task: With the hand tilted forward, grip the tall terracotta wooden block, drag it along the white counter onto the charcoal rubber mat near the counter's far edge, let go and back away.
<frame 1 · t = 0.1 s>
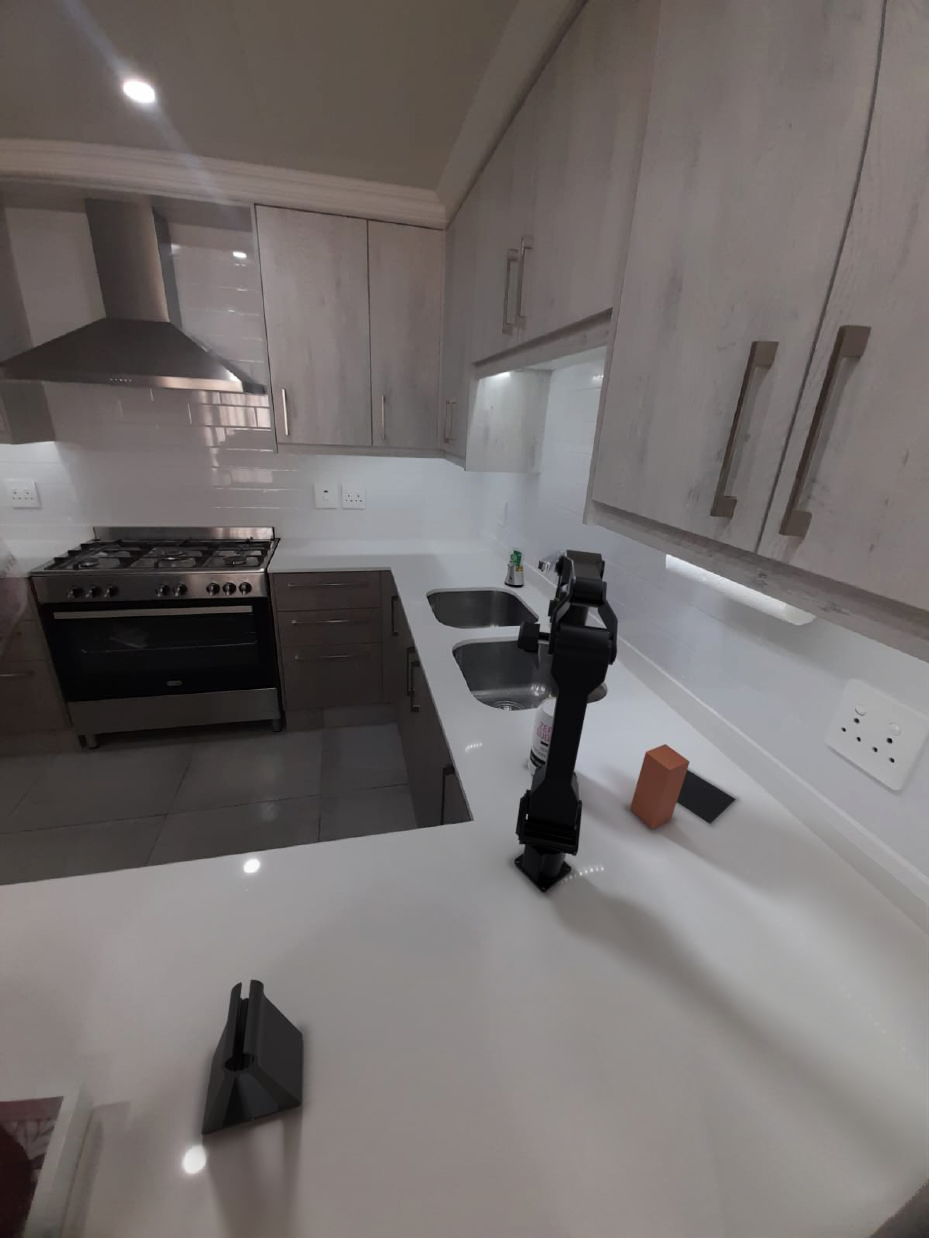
hand: (560, 672, 100), 15 cm above the worktop, tool pointing down, fingers open, 9 cm apart
supplement can: (548, 772, 95), on the worktop
terracotta block: (650, 814, 87), on the worktop
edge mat: (691, 791, 93), on the worktop
phone stand: (256, 1083, 50), on the worktop
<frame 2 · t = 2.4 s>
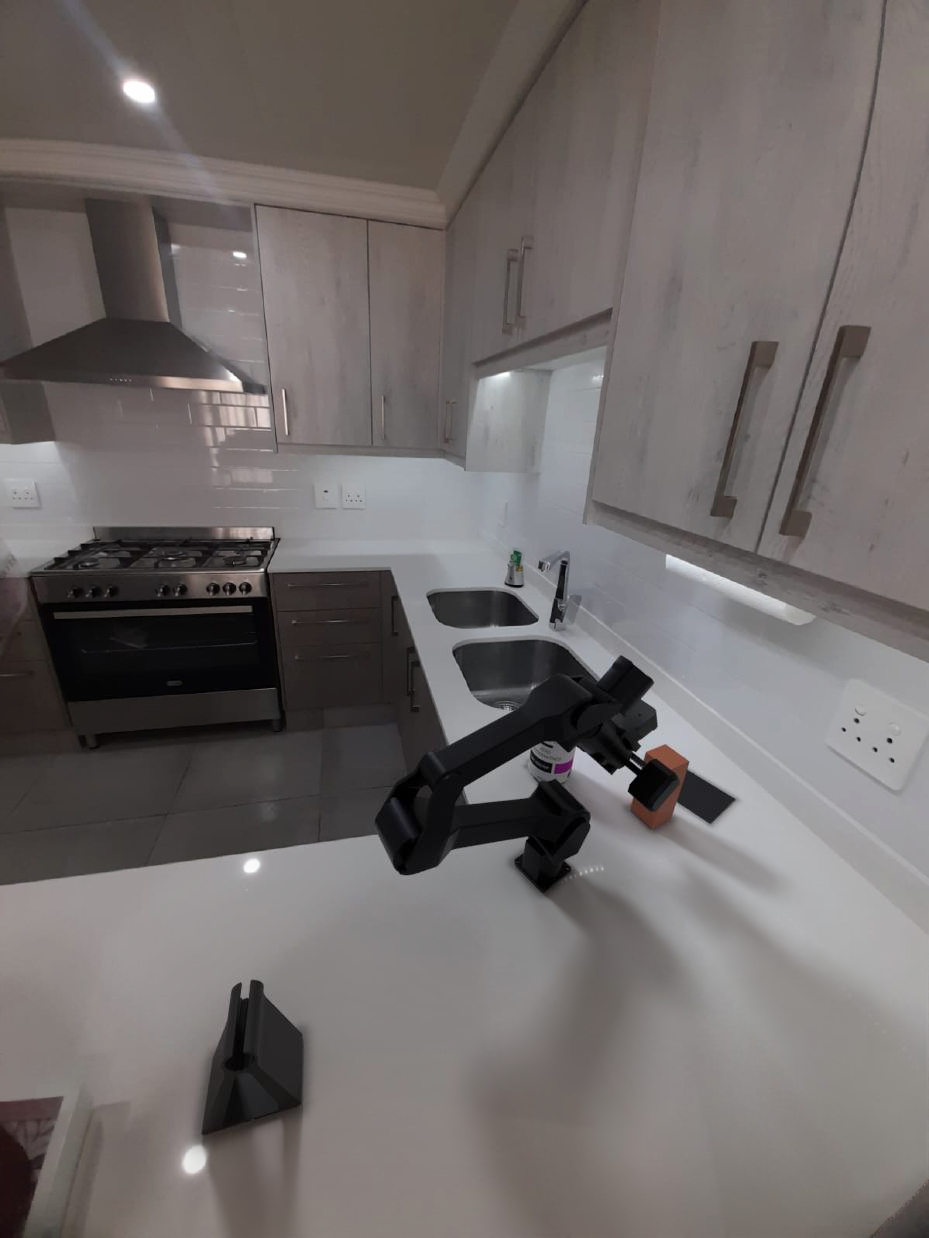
hand: (634, 773, 78), 12 cm above the worktop, tool tilted 45°, fingers open, 9 cm apart
nothing on the worktop moved.
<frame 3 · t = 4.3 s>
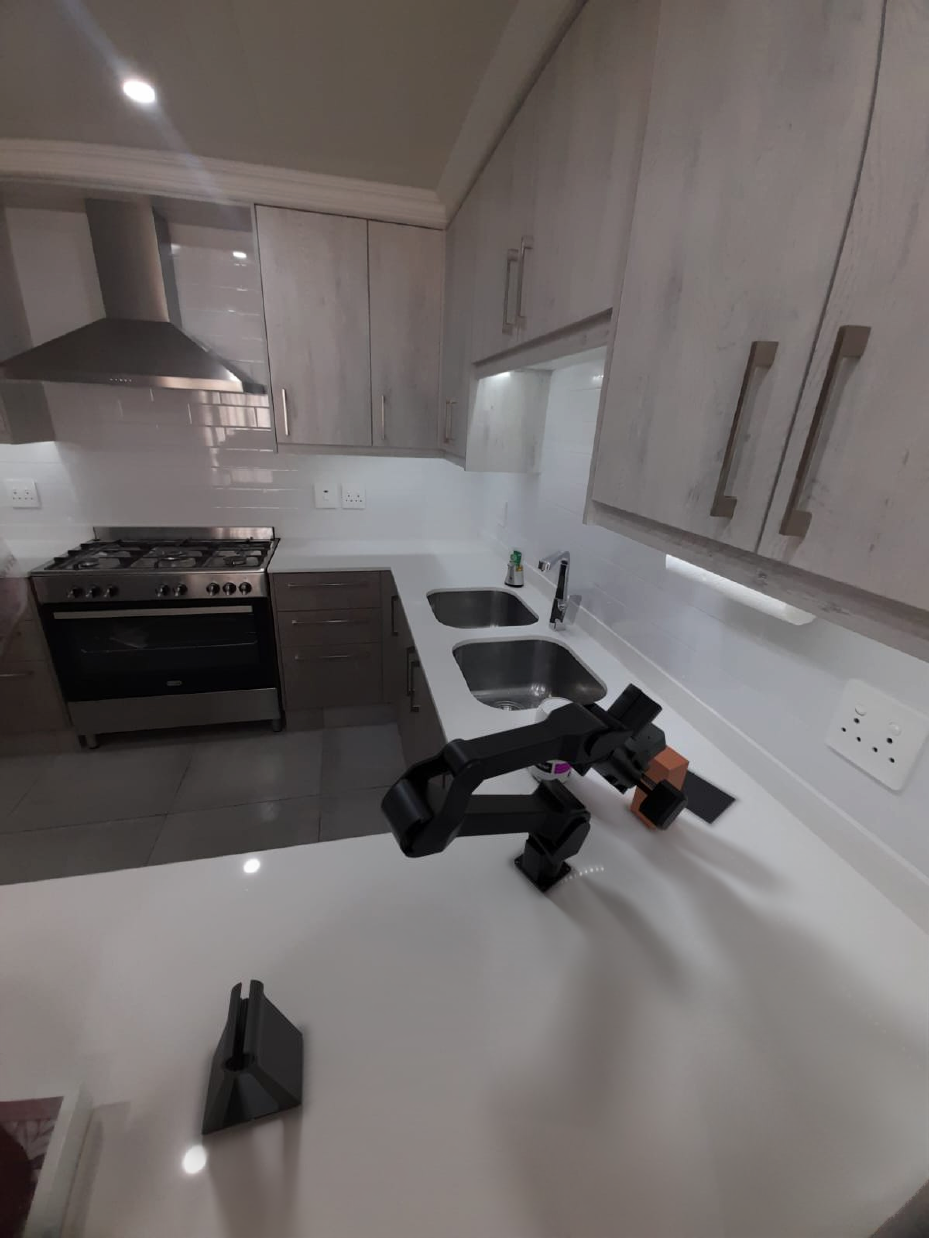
hand: (644, 789, 82), 7 cm above the worktop, tool tilted 45°, fingers open, 9 cm apart
nothing on the worktop moved.
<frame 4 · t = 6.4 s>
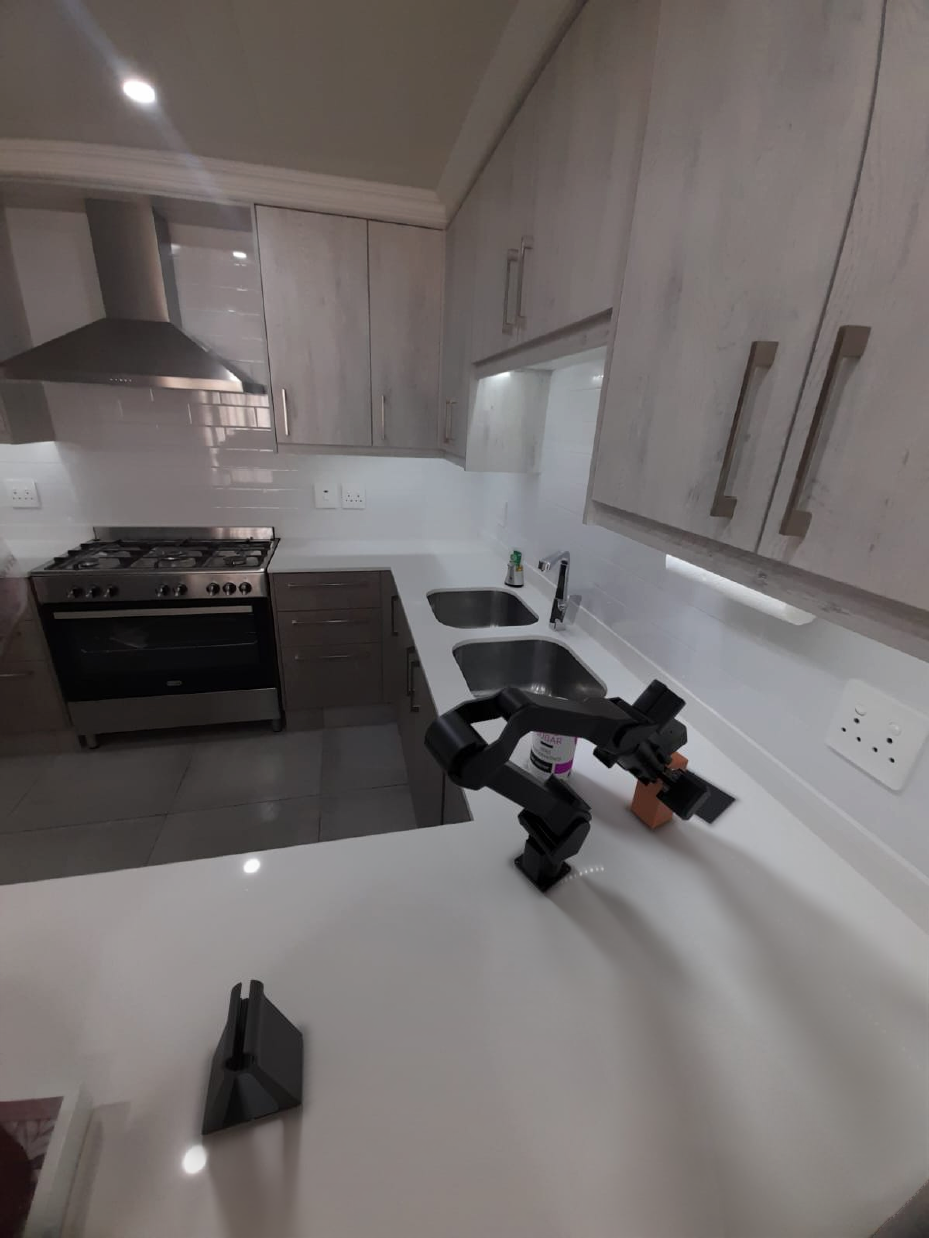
hand: (664, 782, 85), 7 cm above the worktop, tool tilted 45°, fingers closed on terracotta block, 5 cm apart
terracotta block: (650, 814, 87), on the worktop, touching gripper
everything else where it was.
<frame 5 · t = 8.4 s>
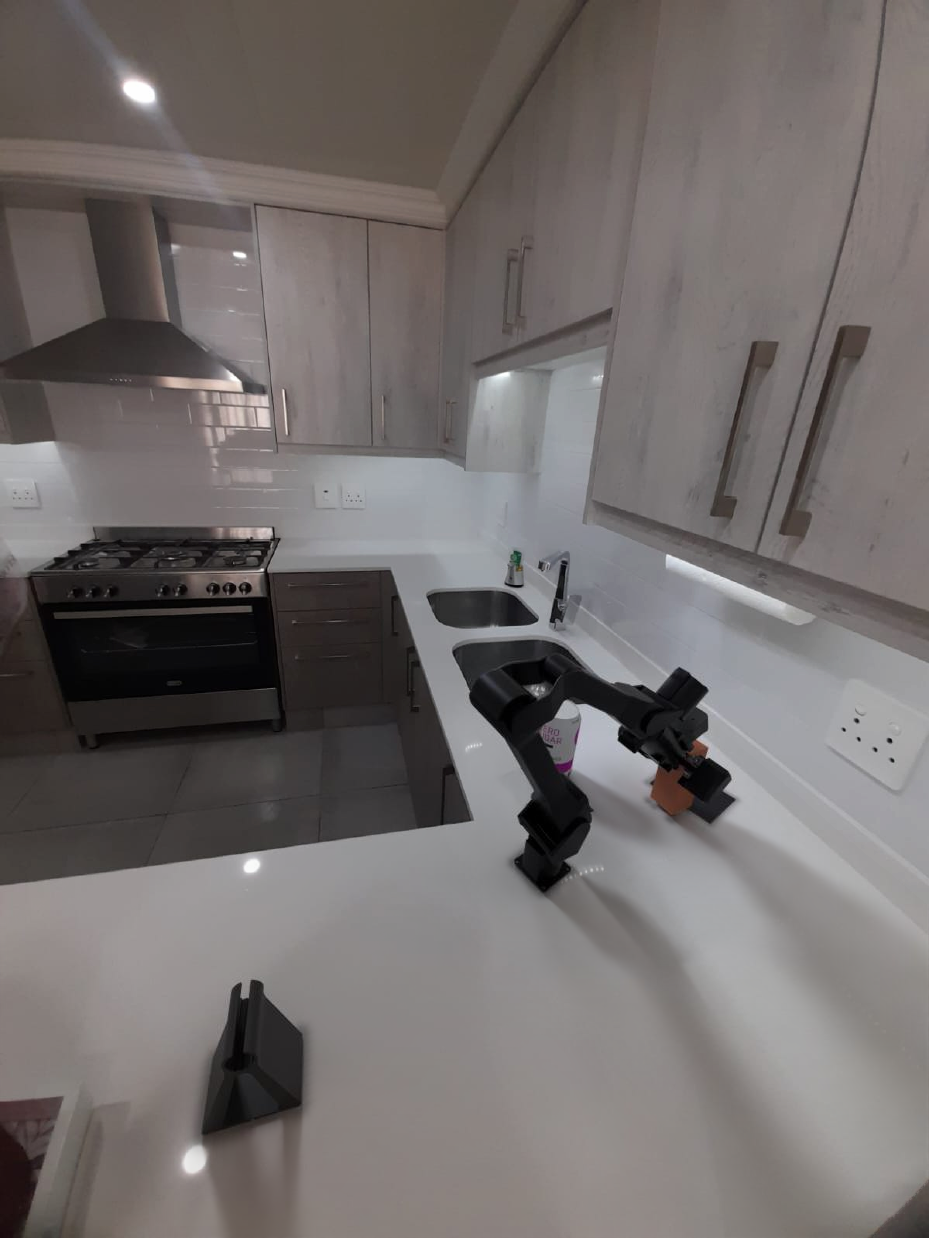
hand: (684, 770, 87), 8 cm above the worktop, tool tilted 45°, fingers closed on terracotta block, 5 cm apart
terracotta block: (670, 801, 89), point 1 cm above the worktop, touching gripper
everything else where it was.
when the fingers open (7 cm above the worktop, at t = 10.7 s): terracotta block stays where it is, resting on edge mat.
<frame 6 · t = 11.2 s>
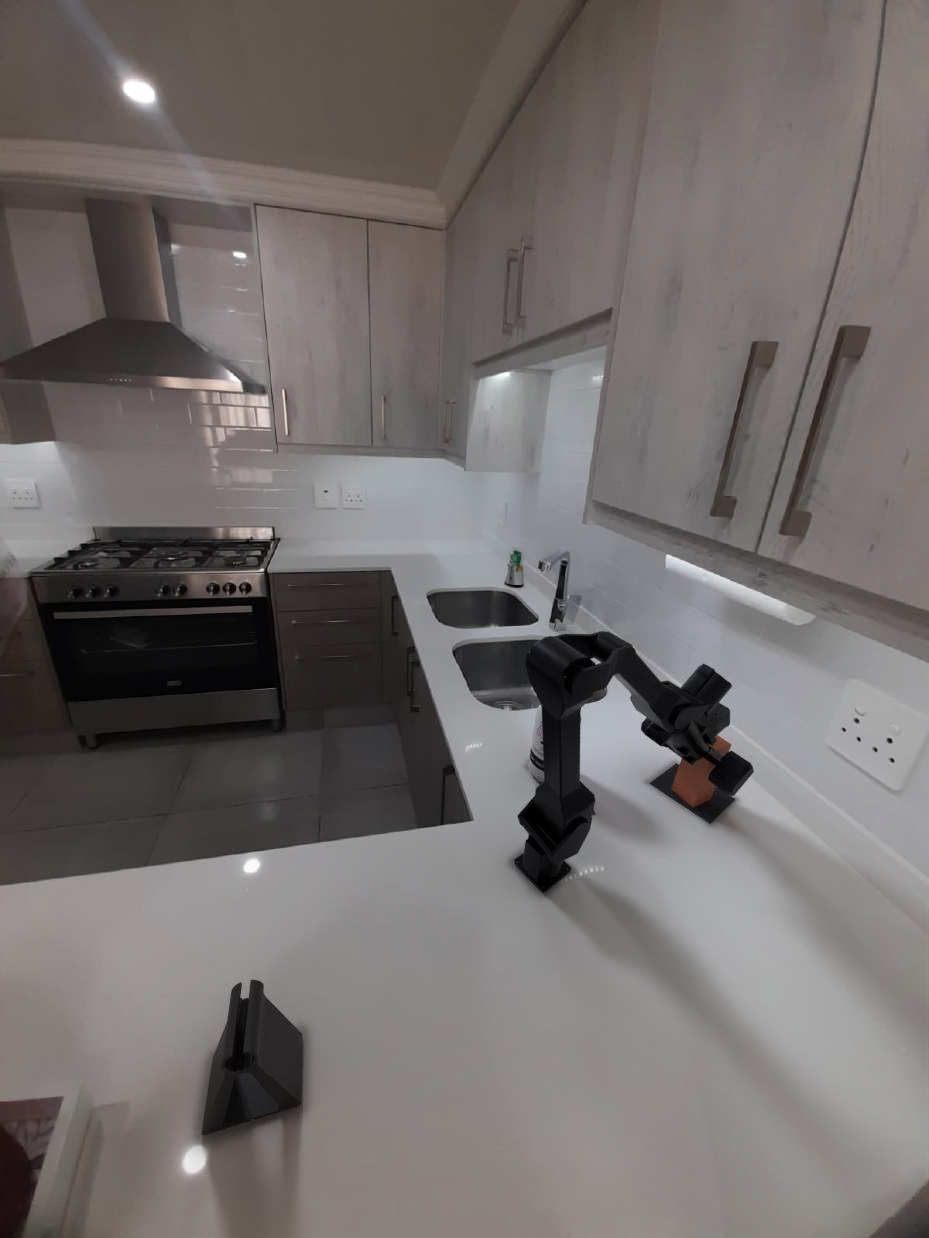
hand: (705, 763, 90), 7 cm above the worktop, tool tilted 45°, fingers open, 9 cm apart
terracotta block: (690, 794, 92), resting on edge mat
everything else where it was.
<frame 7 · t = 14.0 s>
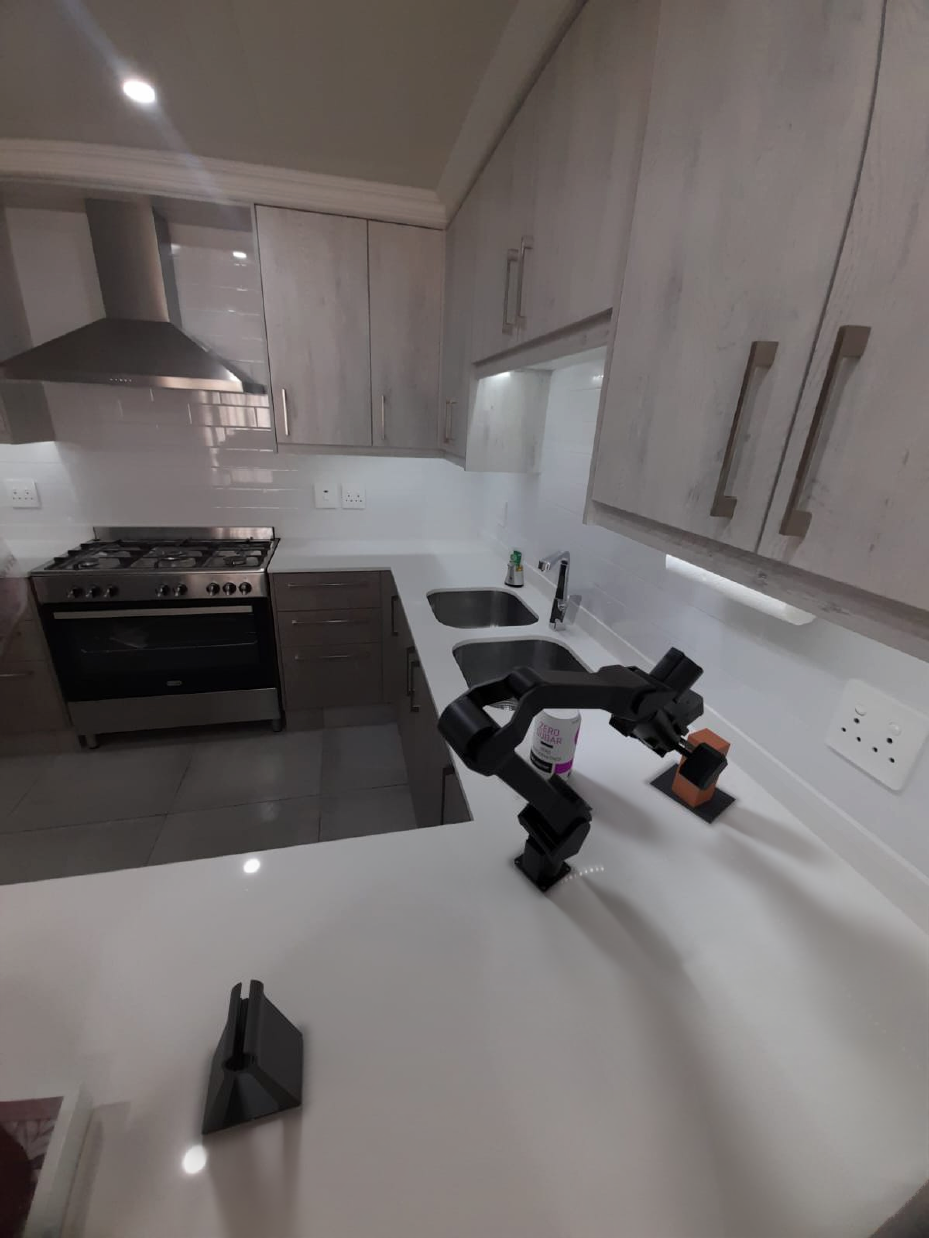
hand: (679, 756, 84), 12 cm above the worktop, tool tilted 45°, fingers open, 9 cm apart
nothing on the worktop moved.
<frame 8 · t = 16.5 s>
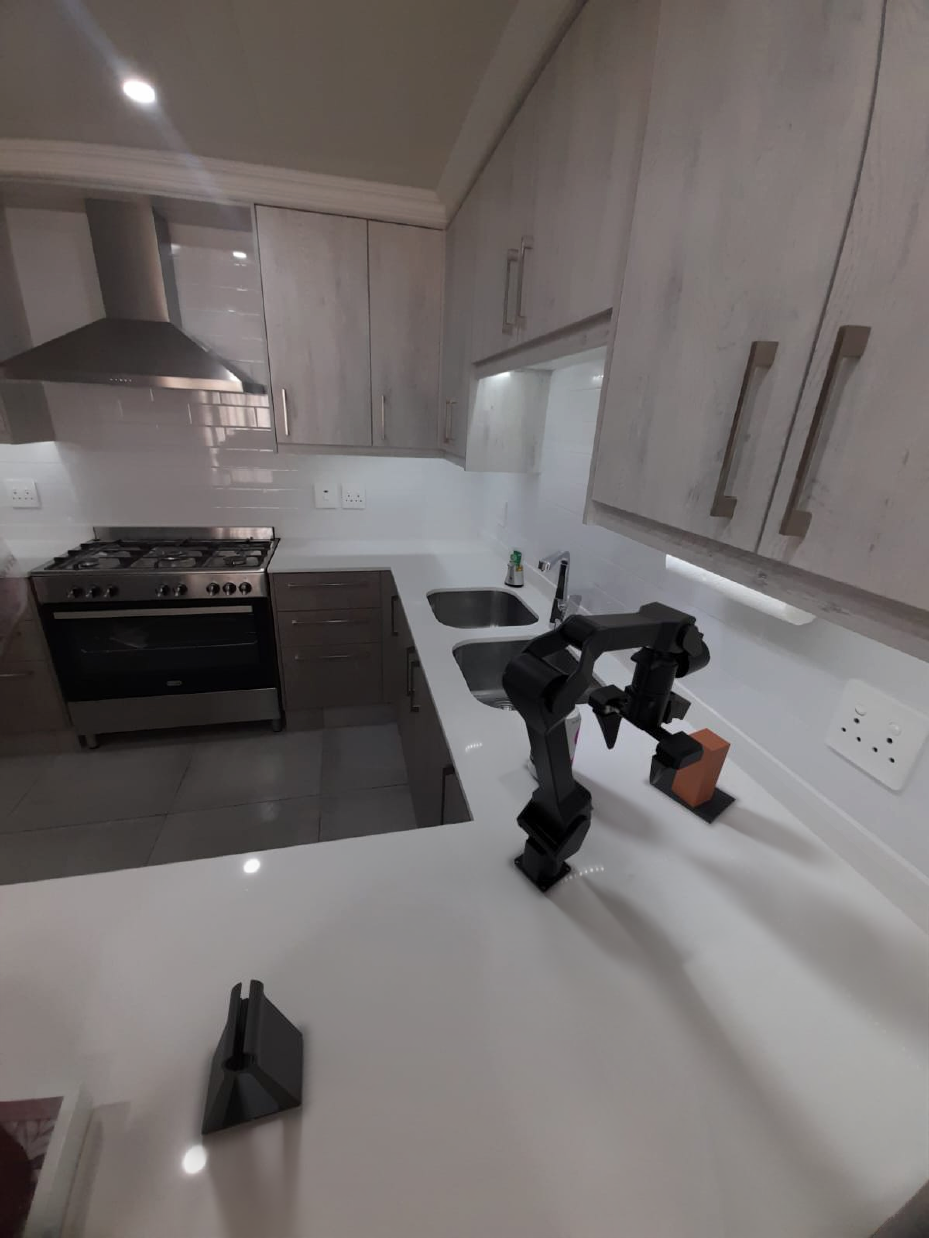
hand: (630, 764, 80), 12 cm above the worktop, tool pointing down, fingers open, 9 cm apart
nothing on the worktop moved.
at the end: terracotta block inside the target area (1.3 cm from its centre), resting on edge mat; terracotta block tilted 0°; the gripper is holding nothing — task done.
